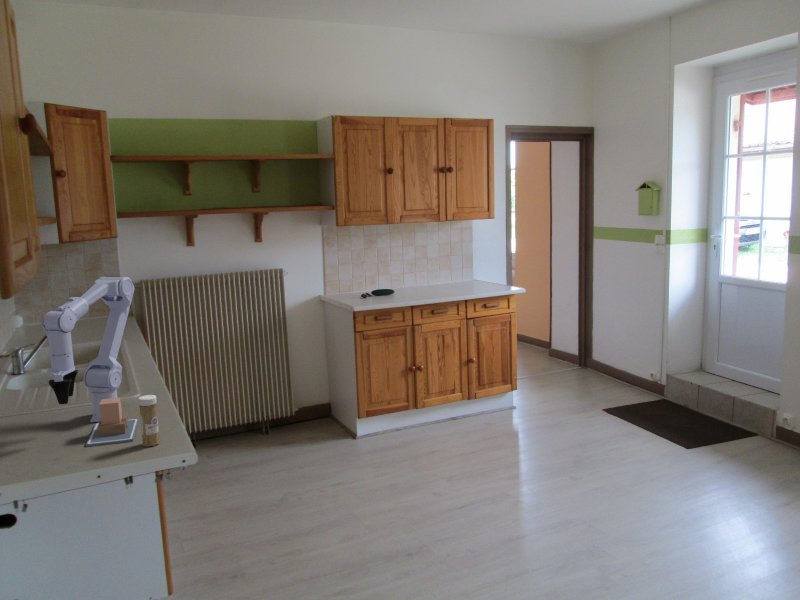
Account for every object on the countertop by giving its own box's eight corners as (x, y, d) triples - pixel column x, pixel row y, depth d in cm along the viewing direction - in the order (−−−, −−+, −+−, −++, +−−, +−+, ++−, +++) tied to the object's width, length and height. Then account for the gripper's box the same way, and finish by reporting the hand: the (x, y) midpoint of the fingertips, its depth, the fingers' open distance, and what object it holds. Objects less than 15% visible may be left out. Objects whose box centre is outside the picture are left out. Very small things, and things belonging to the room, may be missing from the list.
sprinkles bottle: (154, 447, 178) (150, 399, 175) (139, 446, 178) (134, 399, 176) (163, 441, 182) (159, 394, 180) (147, 440, 183) (143, 394, 181)
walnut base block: (102, 428, 192) (101, 418, 191) (128, 425, 194) (127, 415, 193) (98, 436, 185) (97, 426, 184) (125, 433, 187) (124, 423, 186)
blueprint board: (95, 425, 196) (95, 423, 196) (138, 420, 200) (138, 418, 199) (85, 446, 179) (85, 444, 179) (133, 441, 182) (132, 438, 182)
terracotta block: (103, 419, 190) (101, 399, 189) (122, 417, 192) (120, 397, 191) (101, 425, 186) (99, 404, 185) (120, 422, 187) (118, 402, 186)
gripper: (51, 349, 191) (55, 394, 193) (39, 360, 177) (44, 408, 179) (77, 347, 193) (82, 391, 195) (68, 358, 179) (73, 406, 181)
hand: (66, 399), depth 187 cm, fingers open, 7 cm apart
